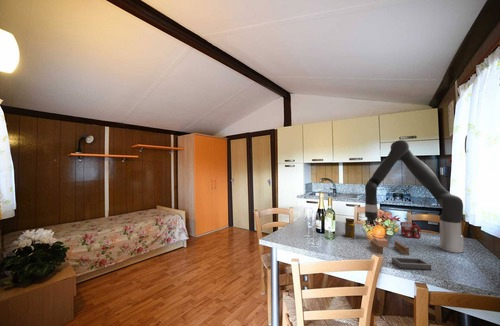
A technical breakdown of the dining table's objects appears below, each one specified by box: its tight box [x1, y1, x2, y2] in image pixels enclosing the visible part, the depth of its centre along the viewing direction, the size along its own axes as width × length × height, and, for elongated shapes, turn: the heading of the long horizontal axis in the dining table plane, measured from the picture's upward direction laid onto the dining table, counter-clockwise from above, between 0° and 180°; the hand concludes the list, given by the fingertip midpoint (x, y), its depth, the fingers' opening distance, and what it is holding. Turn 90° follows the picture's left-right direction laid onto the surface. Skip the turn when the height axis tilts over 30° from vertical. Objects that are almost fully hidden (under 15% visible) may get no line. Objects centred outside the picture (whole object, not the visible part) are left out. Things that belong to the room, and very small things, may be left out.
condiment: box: [341, 218, 357, 240], centre depth 145 cm, size 7×8×12 cm
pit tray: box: [391, 256, 432, 271], centre depth 102 cm, size 14×7×2 cm, turn 85°
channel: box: [369, 239, 410, 256], centre depth 121 cm, size 16×10×4 cm, turn 85°
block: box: [372, 236, 389, 248], centre depth 130 cm, size 6×6×4 cm
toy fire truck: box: [399, 221, 422, 240], centre depth 145 cm, size 7×12×10 cm, turn 77°
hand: (371, 235), depth 141 cm, fingers closed
